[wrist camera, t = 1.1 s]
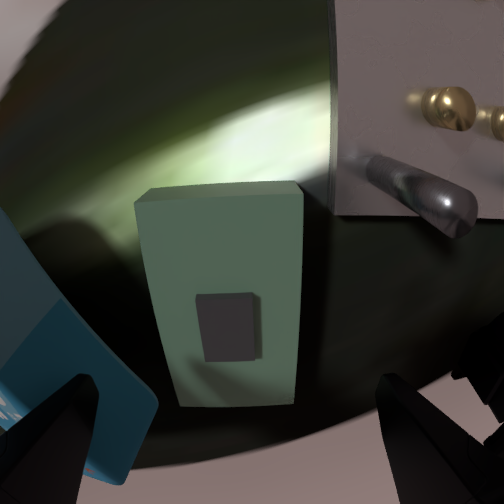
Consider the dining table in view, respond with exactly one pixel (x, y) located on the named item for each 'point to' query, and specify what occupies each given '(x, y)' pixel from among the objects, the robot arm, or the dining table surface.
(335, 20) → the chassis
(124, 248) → the dining table surface
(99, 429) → the data package
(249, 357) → the board
